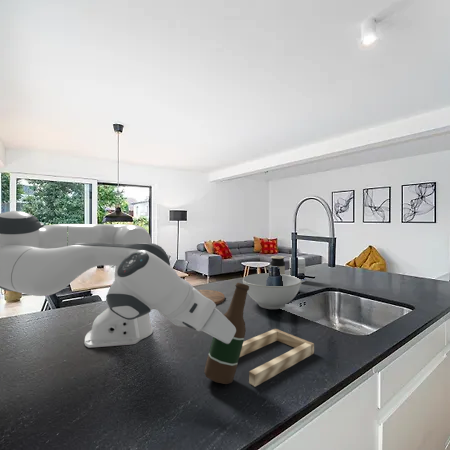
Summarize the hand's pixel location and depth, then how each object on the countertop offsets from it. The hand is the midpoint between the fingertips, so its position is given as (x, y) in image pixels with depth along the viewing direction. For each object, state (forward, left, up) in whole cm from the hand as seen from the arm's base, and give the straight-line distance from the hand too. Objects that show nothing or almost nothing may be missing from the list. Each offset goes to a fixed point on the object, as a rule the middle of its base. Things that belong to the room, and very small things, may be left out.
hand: (219, 334), depth 70 cm
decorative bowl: (+42, +50, -13) cm, 67 cm away
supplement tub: (+80, +85, -13) cm, 118 cm away
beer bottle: (0, +1, -11) cm, 12 cm away
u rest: (+16, +7, -13) cm, 22 cm away
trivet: (+13, +71, -13) cm, 74 cm away
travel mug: (+60, +75, -13) cm, 97 cm away
